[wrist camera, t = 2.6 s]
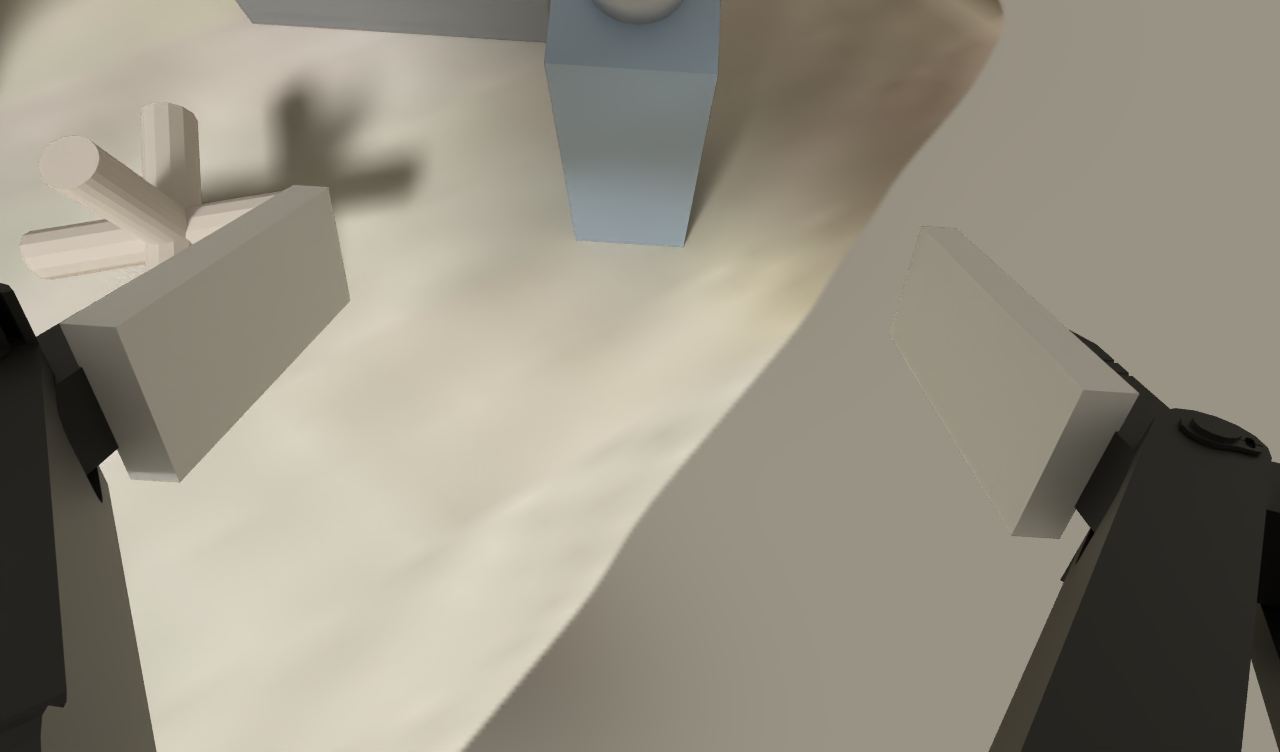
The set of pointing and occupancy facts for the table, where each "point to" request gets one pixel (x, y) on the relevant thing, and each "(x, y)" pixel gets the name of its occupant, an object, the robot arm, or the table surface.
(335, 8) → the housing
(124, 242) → the pipe connector
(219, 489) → the table surface
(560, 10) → the block
